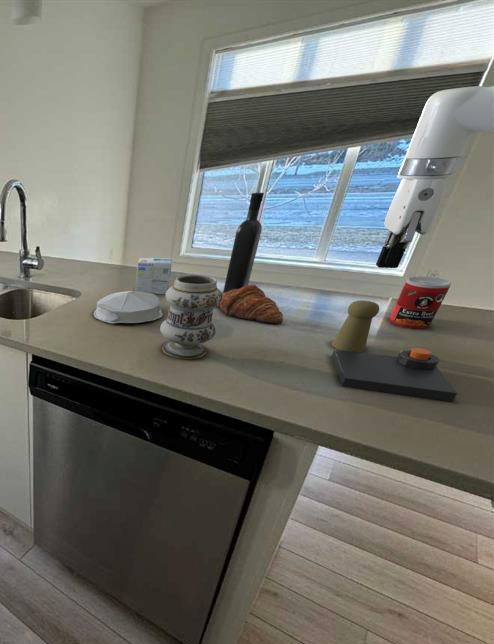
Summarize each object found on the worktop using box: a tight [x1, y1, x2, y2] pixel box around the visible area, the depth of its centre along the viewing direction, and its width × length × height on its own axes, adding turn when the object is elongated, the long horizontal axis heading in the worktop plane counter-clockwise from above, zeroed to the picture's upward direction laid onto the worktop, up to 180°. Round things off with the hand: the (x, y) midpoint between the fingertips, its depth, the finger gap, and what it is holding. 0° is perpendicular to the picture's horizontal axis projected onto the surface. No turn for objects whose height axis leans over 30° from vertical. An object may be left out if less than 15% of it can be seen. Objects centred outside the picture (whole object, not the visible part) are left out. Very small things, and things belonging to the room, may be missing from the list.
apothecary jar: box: [159, 274, 222, 360], centre depth 96 cm, size 12×12×18 cm
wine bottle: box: [222, 192, 265, 293], centre depth 123 cm, size 6×6×30 cm
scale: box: [331, 348, 458, 403], centre depth 82 cm, size 16×14×4 cm
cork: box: [331, 299, 380, 353], centre depth 92 cm, size 6×6×11 cm
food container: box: [93, 290, 163, 324], centre depth 122 cm, size 20×20×7 cm
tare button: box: [409, 347, 432, 360], centre depth 82 cm, size 3×3×2 cm
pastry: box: [215, 284, 284, 325], centre depth 115 cm, size 17×15×8 cm
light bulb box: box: [134, 257, 173, 295], centre depth 137 cm, size 11×7×11 cm, turn 66°
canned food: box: [389, 276, 452, 330], centre depth 100 cm, size 8×8×11 cm
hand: (386, 266), depth 85 cm, fingers closed
